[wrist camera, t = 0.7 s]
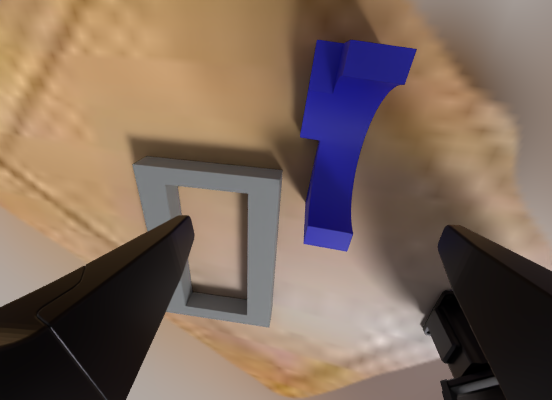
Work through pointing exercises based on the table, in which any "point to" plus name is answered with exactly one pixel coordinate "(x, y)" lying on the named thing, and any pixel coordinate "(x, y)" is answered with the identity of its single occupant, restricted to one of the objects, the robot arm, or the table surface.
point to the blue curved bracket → (343, 127)
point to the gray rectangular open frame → (261, 230)
